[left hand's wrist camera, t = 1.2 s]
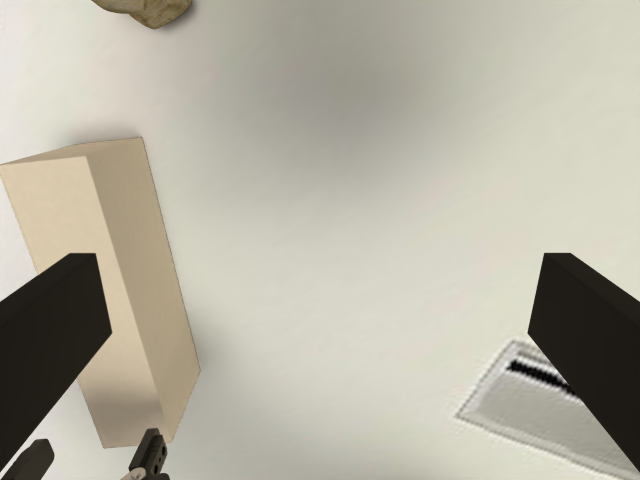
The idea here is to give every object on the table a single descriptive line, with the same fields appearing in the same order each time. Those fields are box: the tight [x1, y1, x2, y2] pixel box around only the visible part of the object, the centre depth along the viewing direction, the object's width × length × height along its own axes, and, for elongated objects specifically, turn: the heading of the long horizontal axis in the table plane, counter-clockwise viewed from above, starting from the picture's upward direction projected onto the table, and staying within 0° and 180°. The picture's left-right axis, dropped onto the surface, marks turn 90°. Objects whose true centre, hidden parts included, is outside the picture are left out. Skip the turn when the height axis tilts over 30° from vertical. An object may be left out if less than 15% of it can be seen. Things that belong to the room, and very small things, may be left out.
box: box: [0, 137, 200, 448], centre depth 37 cm, size 25×6×10 cm, turn 6°
